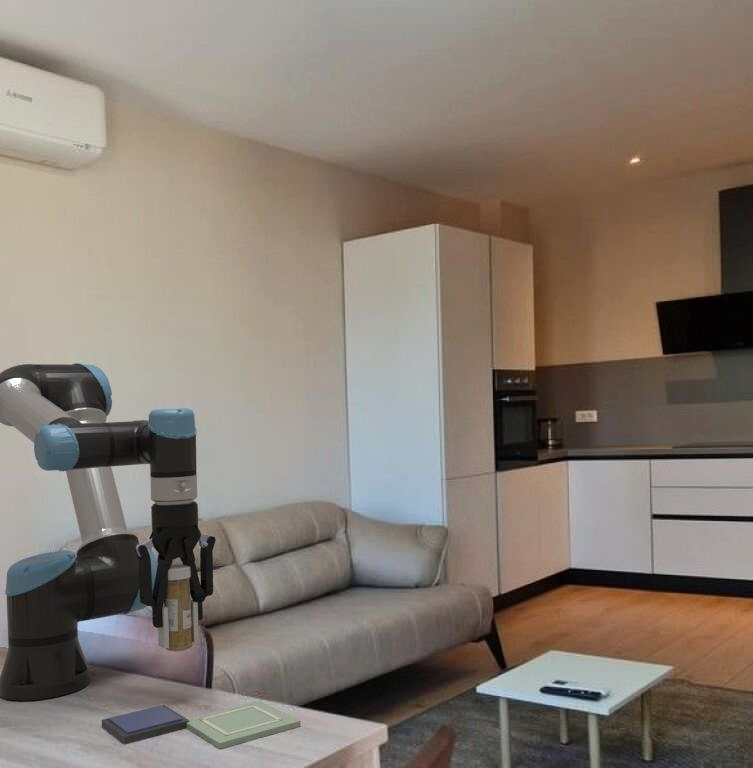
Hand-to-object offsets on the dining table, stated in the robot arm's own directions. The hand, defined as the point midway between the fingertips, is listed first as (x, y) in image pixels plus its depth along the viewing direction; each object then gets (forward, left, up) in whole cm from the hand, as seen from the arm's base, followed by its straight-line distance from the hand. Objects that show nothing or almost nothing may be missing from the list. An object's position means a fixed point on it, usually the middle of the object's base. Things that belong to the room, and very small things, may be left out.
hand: (178, 643), depth 144 cm
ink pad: (+8, -9, -9) cm, 15 cm away
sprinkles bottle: (0, 0, -1) cm, 1 cm away
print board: (+18, +2, -9) cm, 20 cm away
